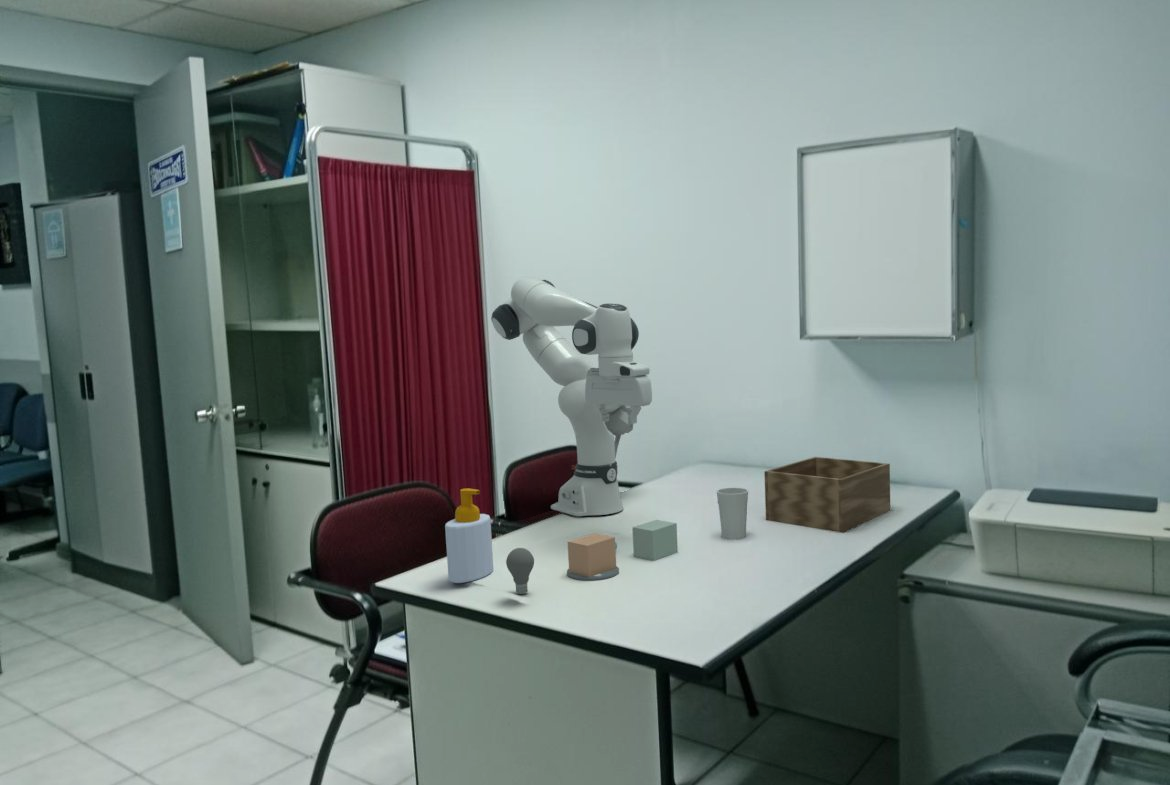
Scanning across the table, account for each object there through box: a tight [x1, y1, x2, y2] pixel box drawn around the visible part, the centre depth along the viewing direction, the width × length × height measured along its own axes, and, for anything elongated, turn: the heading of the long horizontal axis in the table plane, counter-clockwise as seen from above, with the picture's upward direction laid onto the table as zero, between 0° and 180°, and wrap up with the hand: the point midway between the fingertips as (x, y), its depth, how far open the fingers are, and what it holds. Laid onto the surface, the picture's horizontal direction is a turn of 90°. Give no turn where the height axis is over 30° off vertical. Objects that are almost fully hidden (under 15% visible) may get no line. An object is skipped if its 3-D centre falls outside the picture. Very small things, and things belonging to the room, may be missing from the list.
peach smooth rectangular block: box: [567, 532, 617, 577], centre depth 211 cm, size 6×9×7 cm
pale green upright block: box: [632, 519, 679, 561], centre depth 223 cm, size 6×9×7 cm
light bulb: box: [505, 547, 535, 595], centre depth 198 cm, size 6×6×10 cm
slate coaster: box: [566, 565, 620, 582], centre depth 211 cm, size 12×12×1 cm
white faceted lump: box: [605, 405, 642, 459], centre depth 281 cm, size 20×16×35 cm
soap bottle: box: [444, 487, 494, 584], centre depth 213 cm, size 13×8×20 cm, turn 148°
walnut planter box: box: [763, 456, 891, 534], centre depth 250 cm, size 23×26×14 cm
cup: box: [716, 487, 749, 541], centre depth 236 cm, size 8×8×12 cm
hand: (618, 422), depth 233 cm, fingers open, 8 cm apart
